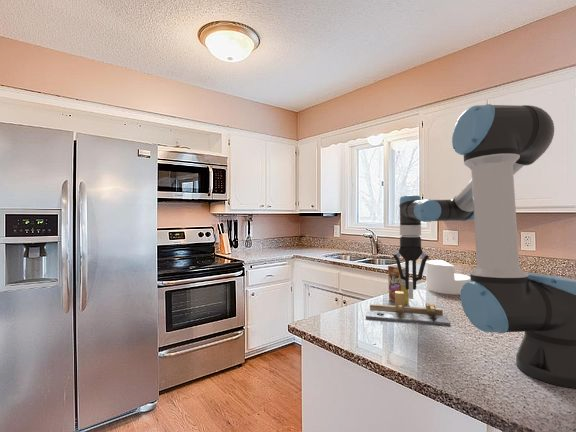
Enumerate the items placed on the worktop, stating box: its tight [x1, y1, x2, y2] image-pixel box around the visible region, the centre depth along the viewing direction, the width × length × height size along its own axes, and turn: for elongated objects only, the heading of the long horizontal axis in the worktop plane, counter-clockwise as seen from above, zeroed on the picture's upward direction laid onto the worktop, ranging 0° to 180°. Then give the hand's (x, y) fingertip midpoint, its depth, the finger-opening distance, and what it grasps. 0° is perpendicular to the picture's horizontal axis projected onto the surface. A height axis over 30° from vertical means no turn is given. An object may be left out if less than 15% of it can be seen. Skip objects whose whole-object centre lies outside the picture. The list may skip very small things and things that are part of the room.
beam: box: [369, 302, 444, 317], centre depth 122 cm, size 9×26×4 cm, turn 73°
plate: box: [365, 309, 451, 327], centre depth 119 cm, size 8×28×1 cm, turn 73°
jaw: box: [394, 291, 405, 315], centre depth 123 cm, size 9×3×8 cm, turn 163°
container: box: [425, 259, 471, 295], centre depth 163 cm, size 20×20×13 cm
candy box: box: [387, 264, 410, 305], centre depth 141 cm, size 9×4×15 cm, turn 17°
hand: (410, 297), depth 125 cm, fingers closed
